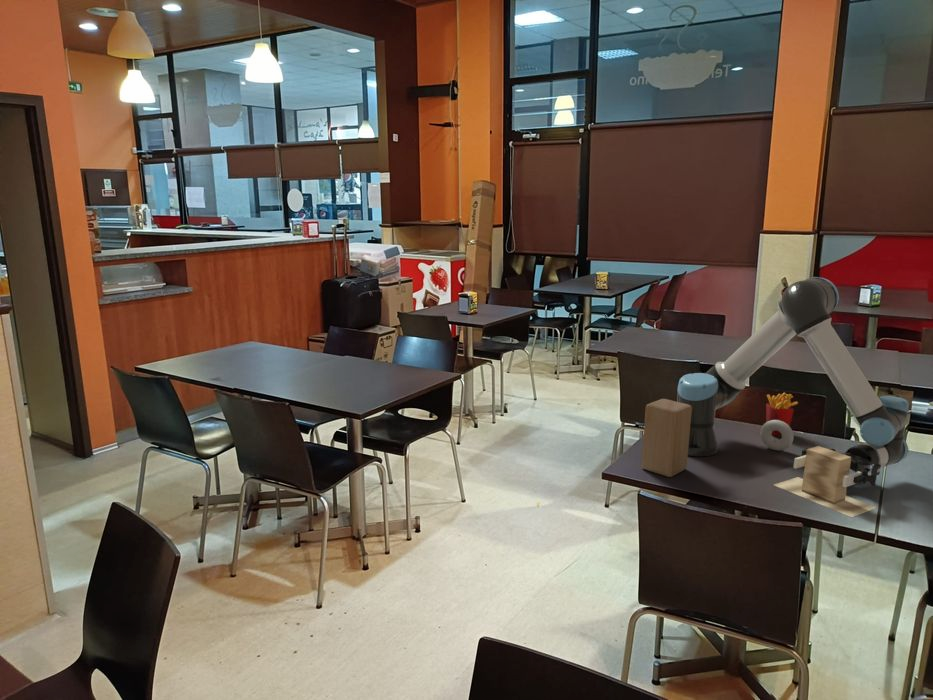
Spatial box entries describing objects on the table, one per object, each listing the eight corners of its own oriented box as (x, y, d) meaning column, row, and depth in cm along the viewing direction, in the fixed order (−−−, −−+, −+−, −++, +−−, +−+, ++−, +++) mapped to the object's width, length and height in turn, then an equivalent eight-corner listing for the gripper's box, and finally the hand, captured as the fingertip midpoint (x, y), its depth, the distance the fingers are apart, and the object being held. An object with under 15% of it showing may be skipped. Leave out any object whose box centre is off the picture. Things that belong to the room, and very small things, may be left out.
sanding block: (801, 491, 182) (807, 449, 180) (812, 487, 185) (818, 445, 182) (833, 504, 175) (839, 460, 172) (845, 500, 177) (851, 457, 175)
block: (639, 468, 200) (644, 403, 196) (657, 460, 207) (662, 397, 202) (670, 479, 193) (676, 411, 189) (687, 469, 200) (693, 404, 195)
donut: (756, 447, 218) (760, 418, 216) (760, 444, 221) (763, 415, 218) (789, 455, 212) (793, 425, 210) (793, 452, 214) (796, 422, 212)
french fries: (762, 430, 234) (767, 388, 231) (785, 430, 234) (790, 388, 231) (774, 439, 225) (779, 396, 222) (798, 439, 226) (804, 396, 222)
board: (772, 489, 187) (773, 484, 186) (797, 481, 192) (797, 476, 192) (850, 522, 168) (851, 517, 168) (875, 512, 174) (876, 507, 173)
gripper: (911, 486, 177) (864, 504, 167) (821, 455, 198) (774, 469, 188) (916, 459, 176) (869, 475, 165) (824, 431, 197) (778, 443, 186)
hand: (818, 472), depth 177 cm, fingers open, 13 cm apart
